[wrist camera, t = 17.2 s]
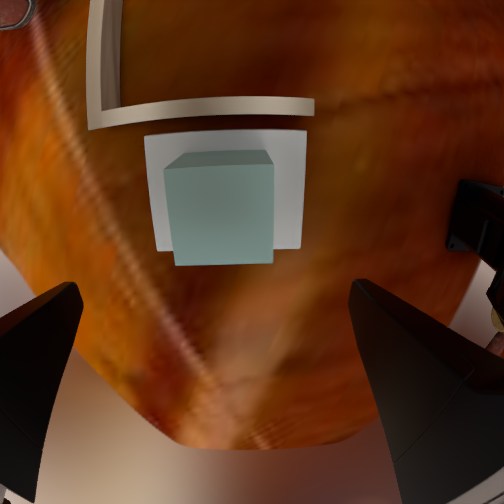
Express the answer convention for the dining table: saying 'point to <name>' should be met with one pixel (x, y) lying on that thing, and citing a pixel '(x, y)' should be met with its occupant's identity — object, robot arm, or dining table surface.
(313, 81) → the dining table surface
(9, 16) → the lighter
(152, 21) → the dining table surface
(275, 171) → the ceramic tile
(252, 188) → the cube
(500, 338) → the gavel
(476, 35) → the dining table surface
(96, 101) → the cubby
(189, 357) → the dining table surface
